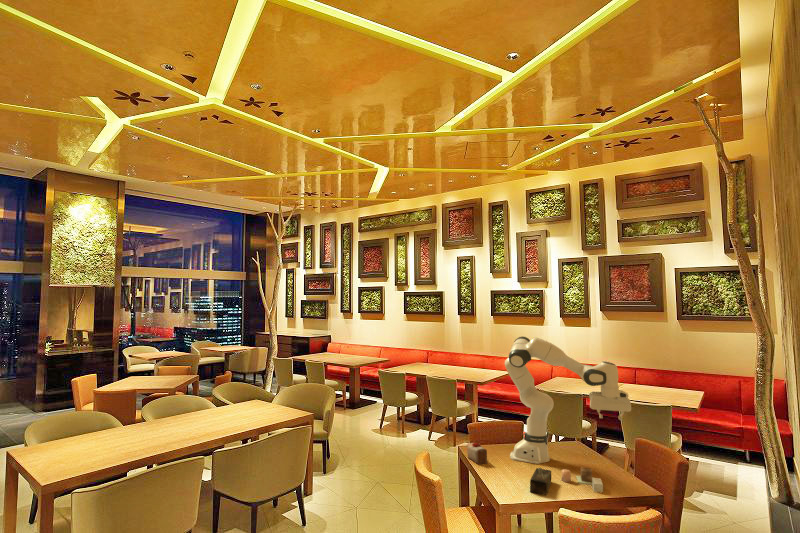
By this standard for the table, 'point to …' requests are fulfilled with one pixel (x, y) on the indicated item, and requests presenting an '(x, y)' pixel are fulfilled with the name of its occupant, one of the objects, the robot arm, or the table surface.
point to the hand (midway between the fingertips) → (610, 418)
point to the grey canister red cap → (477, 453)
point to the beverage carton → (540, 481)
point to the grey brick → (597, 485)
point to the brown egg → (566, 475)
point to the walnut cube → (586, 474)
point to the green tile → (583, 481)
